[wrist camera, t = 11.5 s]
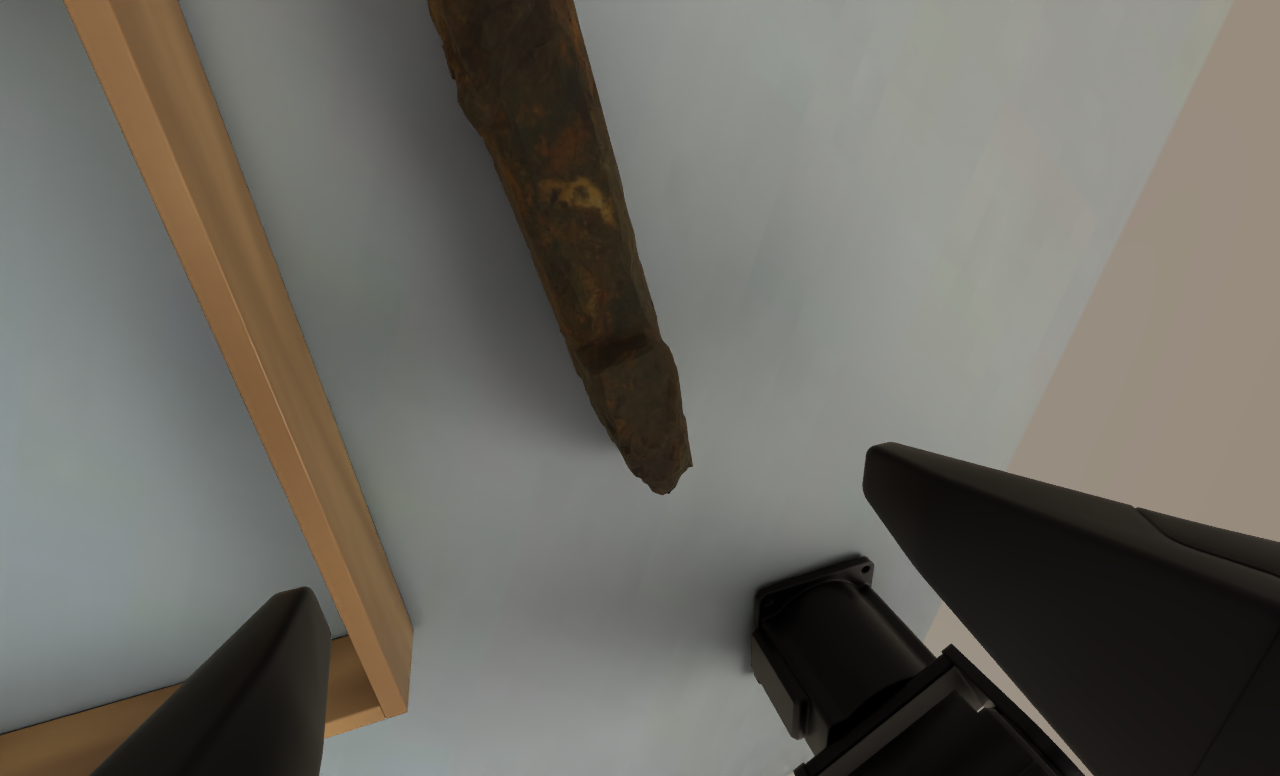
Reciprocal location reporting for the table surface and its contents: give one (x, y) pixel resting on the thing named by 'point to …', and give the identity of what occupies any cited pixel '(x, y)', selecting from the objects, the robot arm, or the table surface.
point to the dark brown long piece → (570, 213)
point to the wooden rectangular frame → (234, 377)
